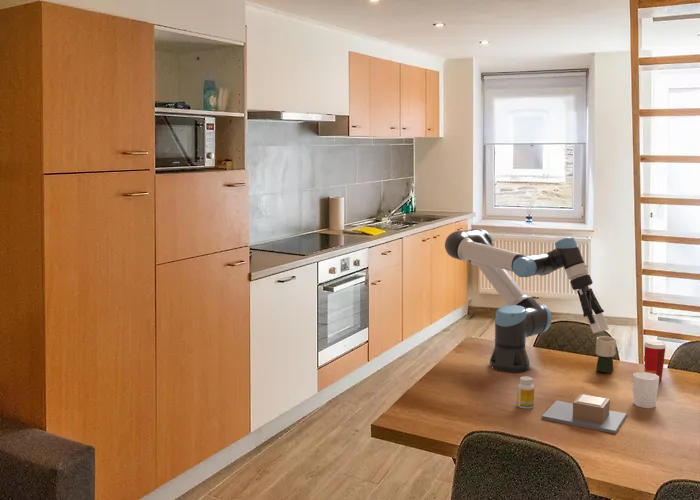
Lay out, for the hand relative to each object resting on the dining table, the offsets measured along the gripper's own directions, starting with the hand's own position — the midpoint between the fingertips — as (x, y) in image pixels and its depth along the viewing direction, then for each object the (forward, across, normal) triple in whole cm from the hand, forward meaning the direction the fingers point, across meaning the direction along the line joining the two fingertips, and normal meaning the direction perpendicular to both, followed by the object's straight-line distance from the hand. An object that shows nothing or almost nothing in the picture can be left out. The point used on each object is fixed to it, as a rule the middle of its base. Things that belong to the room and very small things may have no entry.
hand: (601, 331), depth 249 cm
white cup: (+27, -16, -7) cm, 32 cm away
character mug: (+15, +13, +7) cm, 21 cm away
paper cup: (+22, +13, -8) cm, 27 cm away
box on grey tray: (+24, -38, +7) cm, 45 cm away
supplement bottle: (+16, -38, +24) cm, 47 cm away
